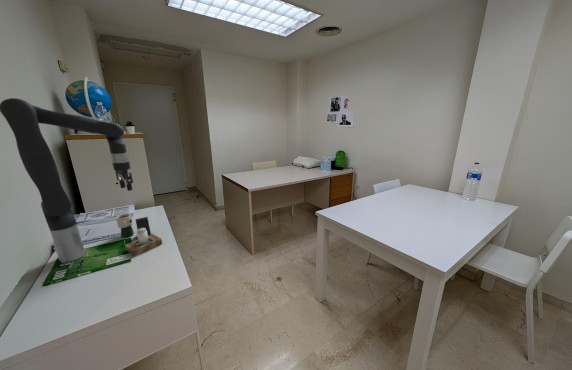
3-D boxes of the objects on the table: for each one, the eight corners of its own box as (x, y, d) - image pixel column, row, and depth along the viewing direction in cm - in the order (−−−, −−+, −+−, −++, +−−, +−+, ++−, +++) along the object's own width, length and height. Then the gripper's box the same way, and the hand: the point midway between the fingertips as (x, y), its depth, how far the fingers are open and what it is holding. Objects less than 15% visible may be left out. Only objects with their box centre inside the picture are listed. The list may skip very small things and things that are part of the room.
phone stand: (138, 234, 129) (134, 217, 126) (150, 231, 133) (146, 214, 129) (139, 241, 122) (135, 222, 119) (151, 237, 126) (148, 219, 123)
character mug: (135, 237, 126) (131, 217, 123) (120, 241, 122) (115, 220, 119) (134, 230, 135) (130, 211, 131) (120, 233, 130) (115, 214, 127)
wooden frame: (135, 256, 108) (134, 250, 108) (126, 250, 113) (124, 245, 112) (162, 243, 120) (161, 238, 119) (152, 238, 125) (152, 233, 124)
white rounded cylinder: (141, 246, 113) (138, 232, 111) (137, 243, 115) (134, 230, 113) (150, 242, 117) (148, 228, 114) (146, 240, 119) (143, 226, 117)
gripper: (107, 160, 116) (113, 188, 121) (118, 163, 109) (124, 193, 114) (122, 159, 122) (128, 185, 127) (134, 161, 115) (139, 189, 120)
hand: (126, 189), depth 120 cm, fingers open, 8 cm apart
